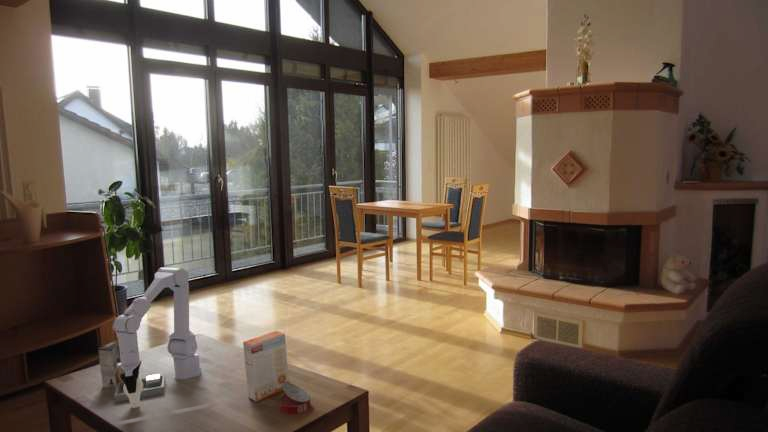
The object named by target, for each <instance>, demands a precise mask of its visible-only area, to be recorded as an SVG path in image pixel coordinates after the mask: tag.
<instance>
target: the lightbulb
mask: <svg viewBox="0 0 768 432" xmlns="http://www.w3.org/2000/svg"><path fill="white" fill-rule="evenodd" d="M140 379H141V378H139V377H138V378H137V384H136V392H135V393H130V394H129V393H128V391H127V388H126V385H125V384H124V387H123V390H124V393H125V394H126V395H127V396H128V398H129V400H128V401H129V403H130V406H131V408H132V409H136V408H139V407H140V400H141V398H140V394H141V392H142V389H143V382H142V381H141V380H140Z"/></svg>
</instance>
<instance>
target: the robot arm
mask: <svg viewBox="0 0 768 432" xmlns="http://www.w3.org/2000/svg"><path fill="white" fill-rule="evenodd" d="M165 288H169V289H170V290H172V291H173V329H174V330H173V332H172V333H171V334H170V335H169V336H168V342H167V343H168V344H167V351H168V353H169V354H170V355H171V358H173V368H174V378H175V379H176V380H187V379H191V378H194V377H200V376H201V372H202V367H201V365H200V355H199V353H198V352H197V349H198V342H197V340H196V334H194V333H193V332H192V331H191V330H190V298H189V297H190V285H189V272H188V271H187V270H186V269H185V268H183V267H179V268H178V267H165V266H163V267H162V266H161V267H160V268H158V270H157V271H156V272H155V273H154V279H153V280H152V282H151V283H150V285H149V286H148V287H147V288H146V291H145V292H144V293H143V295H142V296H141V297H136V298H134V299H133V300H132V303H131V304H130V305H129V306H128V308H126V310H125V311H124V312H123V314H121V315H118V316H117V317H116V318H115V319H114V321H113V325H112V330H113V331H115V334H116V337H117V340H118V341H119V350H120V358H121V363H118V364H117V367H122V369H123V370H124V371H125V373H123V374H121V375H120V378H121V379H122V380H123V382H124V383H125V385H126V388H127V391H128V393H129V394H130V393H135V392H136V384H137V378H139V374H140V368H141V365H142V360H141V359H140V349H139V341H138V332H137V331H138V330H139V329H140V326H141V322H142V320H143V317H145V315H146V314H147V313H148V312H149V311H150V309H151V303H152V302H153V300H154V299H155V298H156V297H157V296H158V295H159V294H160V293H161V292H162V291H163V290H164V289H165Z"/></svg>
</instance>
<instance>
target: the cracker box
mask: <svg viewBox="0 0 768 432" xmlns="http://www.w3.org/2000/svg"><path fill="white" fill-rule="evenodd" d="M242 343H243V344H242V345H243V346H242V347H243V355H244V367H245V377H246V378H245V379H246V384H247V385H246V388H247V397H248V398H249V399H250V400H251V401H252V400H253V401H254V402H255V403H258V402H260V401H263V400H264V399H267V398H270V397H271V396H274V395H277V394H279V393H281V392H284V390H283V382H285V381H288V382H290V381H289V380H290V379H289V369H288V368H289V366H288V357H287V355H288V354H287V343H286V334H285V333H284V332H281V331H278V330H275V331H272V332H269V333H266V334H263V335H259V336H257V337H254V338H251V339H248V340H245V341H243V342H242Z"/></svg>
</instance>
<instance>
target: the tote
mask: <svg viewBox="0 0 768 432" xmlns="http://www.w3.org/2000/svg"><path fill="white" fill-rule="evenodd" d="M160 377H161V386H160V387H154V388H149V389H147V385H146V378H147V377H143V378H139V379H140V380H141V381H142V382H143V389H142V392H141V394H140V399H142V398H147V397H152V396H156V395H157V396H158V395H164V394H165V391H166V390H165V389H166V374H160ZM124 384H125V383H124V382H119V383H118V385H117V388H115V392H114V396H113V398H114V403H119V402H125V401H130V400H129V398H128V396H127V395H126V394H125V393H124V390H123V387H124Z"/></svg>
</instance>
